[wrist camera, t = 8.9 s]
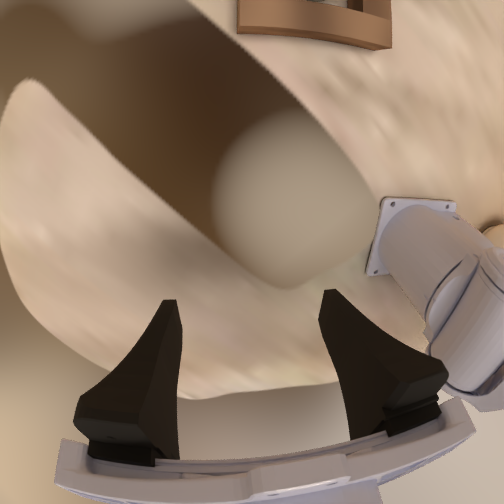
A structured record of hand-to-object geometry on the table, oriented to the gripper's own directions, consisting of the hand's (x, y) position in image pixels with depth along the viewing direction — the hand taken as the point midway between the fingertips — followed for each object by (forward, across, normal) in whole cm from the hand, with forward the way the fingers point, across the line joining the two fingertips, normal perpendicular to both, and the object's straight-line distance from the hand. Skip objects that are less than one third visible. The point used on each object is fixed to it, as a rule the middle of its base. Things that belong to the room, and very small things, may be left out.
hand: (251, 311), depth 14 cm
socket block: (+10, -5, -19) cm, 22 cm away
